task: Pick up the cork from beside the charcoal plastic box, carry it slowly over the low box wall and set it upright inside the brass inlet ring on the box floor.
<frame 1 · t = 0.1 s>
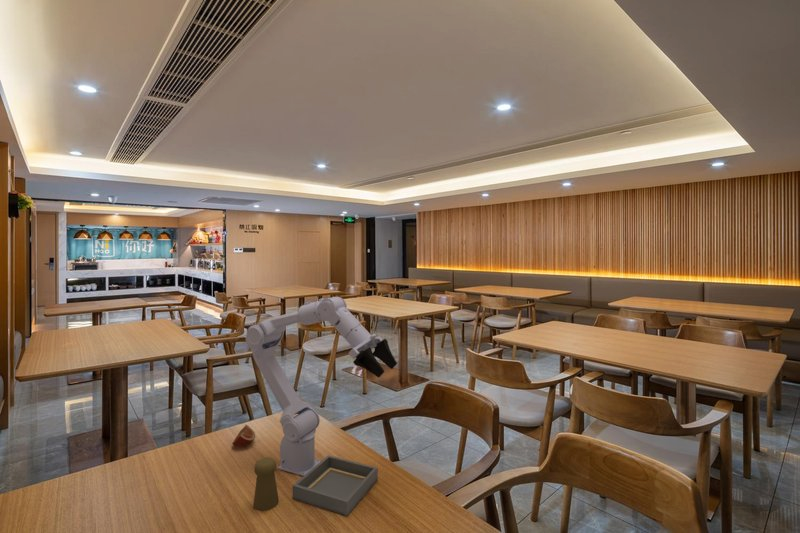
hand: (388, 370, 103), 32 cm above the table, tool tilted 50°, fingers open, 7 cm apart
fruit slice: (244, 445, 129), on the table
walled box: (336, 489, 106), on the table
cork: (266, 503, 100), on the table
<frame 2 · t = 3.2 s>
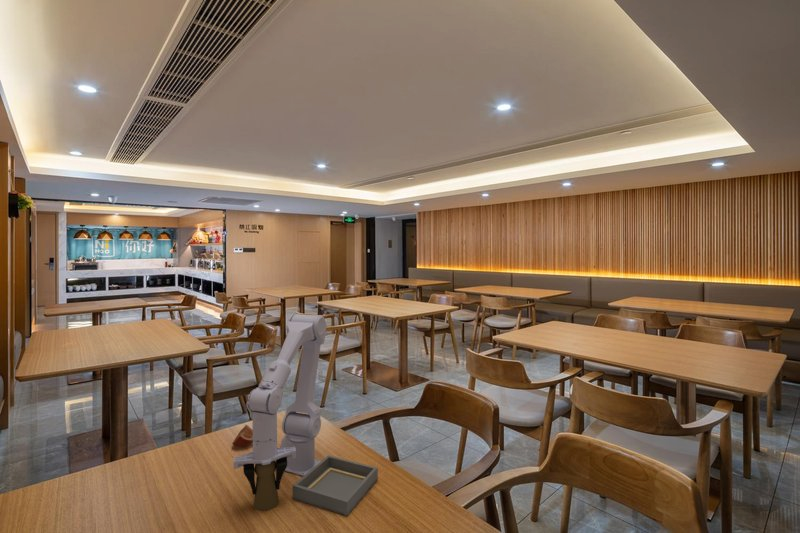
hand: (265, 489, 100), 3 cm above the table, tool pointing down, fingers closed on cork, 5 cm apart
cork: (266, 503, 100), on the table, touching gripper
everything else where it was.
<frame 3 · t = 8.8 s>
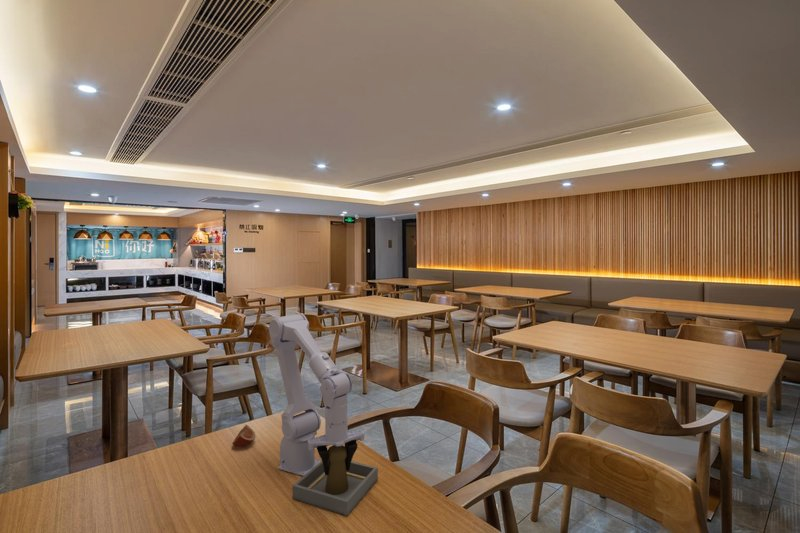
hand: (336, 470, 106), 5 cm above the table, tool pointing down, fingers closed on cork, 5 cm apart
cork: (336, 488, 105), resting on walled box, touching gripper
everything else where it was.
when the fingers open (5 cm above the table, at t = 9.4 s): cork stays where it is, resting on walled box.
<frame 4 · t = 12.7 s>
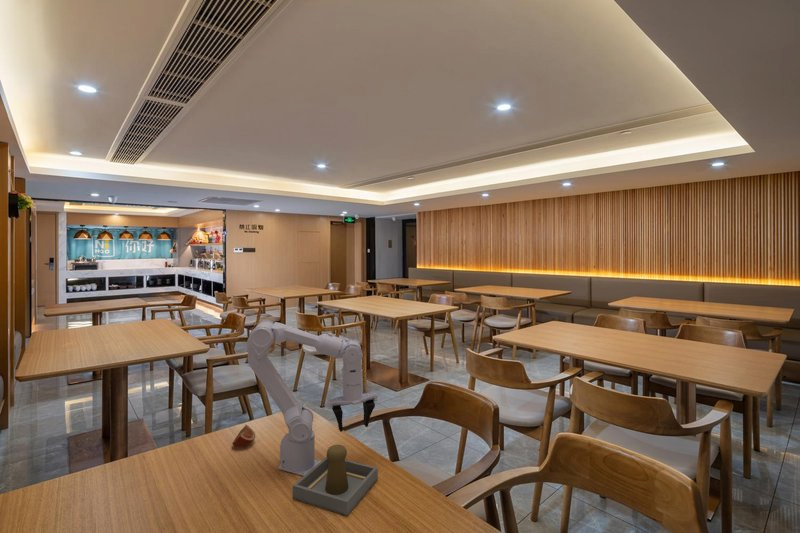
hand: (353, 427, 118), 10 cm above the table, tool pointing down, fingers open, 7 cm apart
cork: (336, 488, 105), resting on walled box
everything else where it was.
at the end: cork 0.4 cm off-centre on the walled box, point 0.4 cm above the walled box's base; cork tilted 0°; the gripper is holding nothing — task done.
